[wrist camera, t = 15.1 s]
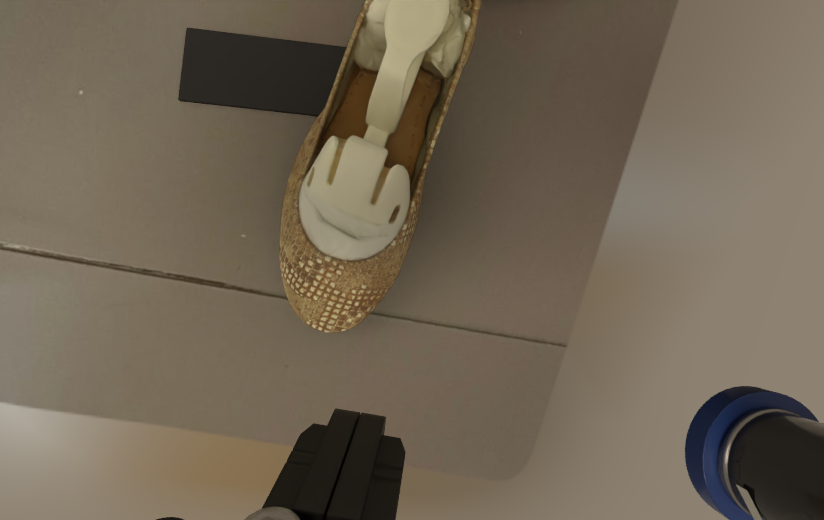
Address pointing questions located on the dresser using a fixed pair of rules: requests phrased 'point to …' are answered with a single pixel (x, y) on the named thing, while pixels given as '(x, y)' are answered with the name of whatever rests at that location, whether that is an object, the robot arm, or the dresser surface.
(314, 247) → the ballet flat
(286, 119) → the dresser surface
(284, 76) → the boot mat
